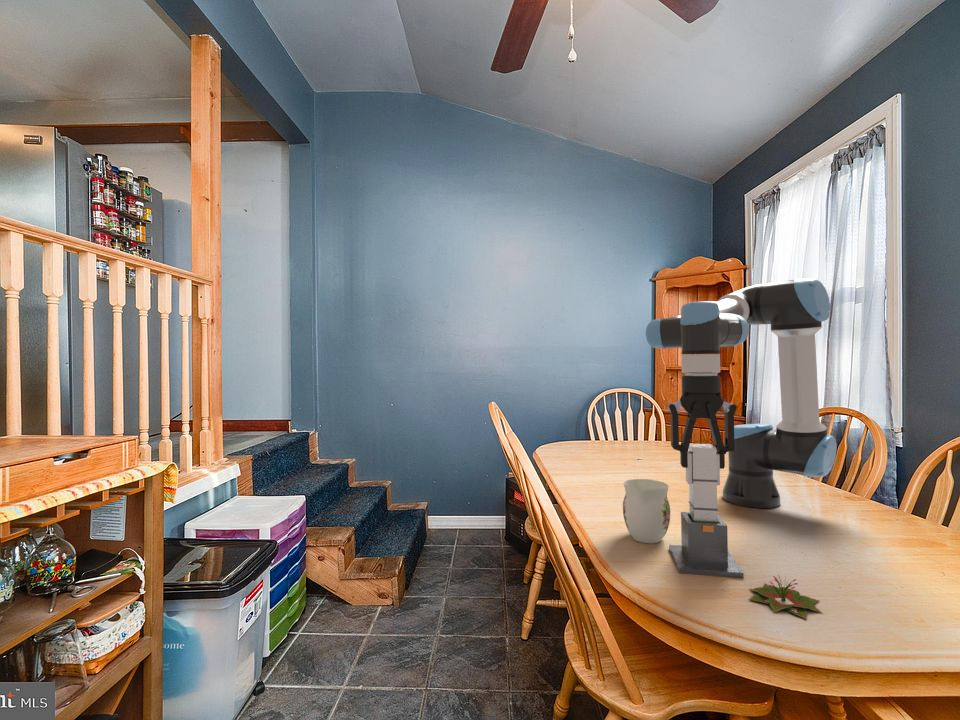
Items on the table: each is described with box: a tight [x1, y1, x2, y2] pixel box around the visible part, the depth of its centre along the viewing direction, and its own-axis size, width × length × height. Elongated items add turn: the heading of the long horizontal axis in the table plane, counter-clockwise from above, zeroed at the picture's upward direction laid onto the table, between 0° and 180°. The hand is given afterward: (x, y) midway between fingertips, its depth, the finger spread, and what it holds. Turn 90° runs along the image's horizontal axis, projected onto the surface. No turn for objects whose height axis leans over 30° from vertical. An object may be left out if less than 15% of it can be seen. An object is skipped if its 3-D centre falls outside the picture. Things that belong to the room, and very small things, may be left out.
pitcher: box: [622, 478, 671, 544], centre depth 115 cm, size 11×18×14 cm, turn 155°
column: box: [688, 443, 719, 524], centre depth 100 cm, size 5×5×18 cm
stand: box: [668, 511, 745, 579], centre depth 100 cm, size 12×12×10 cm
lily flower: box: [747, 574, 823, 620], centre depth 84 cm, size 12×12×5 cm
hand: (702, 482), depth 100 cm, fingers closed on column, 5 cm apart
